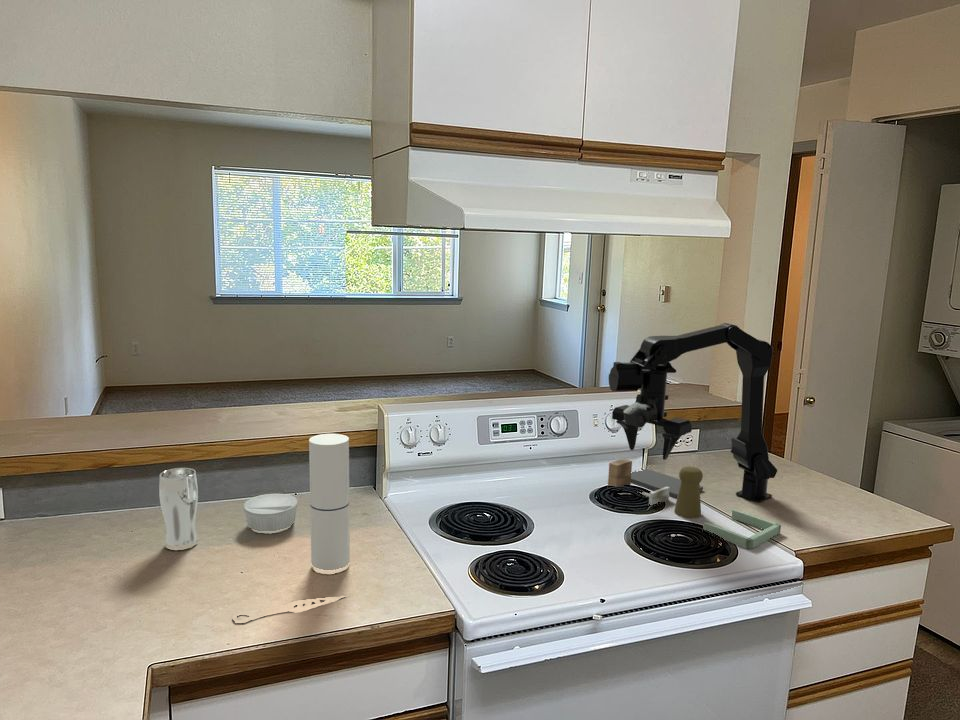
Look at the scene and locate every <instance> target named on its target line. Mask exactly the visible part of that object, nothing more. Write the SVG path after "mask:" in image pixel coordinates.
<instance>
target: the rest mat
mask: <svg viewBox="0 0 960 720" xmlns="http://www.w3.org/2000/svg"><path fill="white" fill-rule="evenodd" d="M631 472H632V473H631V483H632V482H633V483H632V484H635V483H636V484H635V485H637V484H638V486H640V485H642V486H641V487H643V488H646V487H647V488H646V489H649V488H650V490H651V491H656V490H659V489H661V488H664V487H670V489H669V497H673V498H675V499H677V497H678V492H679V488H680V484H681V480H680V478H677V477H674V476H671V475H668V474H664V473H662V472H659V471H656V470H652V469H649V468H647V467H646V469H645V470H643V471H638V472H633V471H631ZM702 490H704V487H703V486H702V485H700V492H702Z"/></svg>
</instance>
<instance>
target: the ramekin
mask: <svg viewBox="0 0 960 720" xmlns="http://www.w3.org/2000/svg"><path fill="white" fill-rule="evenodd" d="M298 507H299V503H298V499H297V497H295V496H293V495H291V494H286V493H265V494H260V495H257V496H255V497H252V498H250V499H248V500H247V501H245V502H244V504H243V507H242V509H243V512H244V514H245V518H246V523H247V527H248V526H249V527H250V528H251V529H254V530H257V531H276V530H280V529H284V528H287V527H289V526H291V525H292V524H293V523H294V524H295V521H296V517H297V509H298ZM294 524H293V525H294ZM293 525H292V526H293ZM249 527H248V528H249ZM250 528H249V529H250ZM251 529H250V530H251Z"/></svg>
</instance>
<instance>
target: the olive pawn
mask: <svg viewBox="0 0 960 720" xmlns="http://www.w3.org/2000/svg"><path fill="white" fill-rule="evenodd" d="M678 476H679V479H680V480H681V484H680V488H679V492H678V497H677V498H676V501H675V502H676V503H675V506H674V509H673V510H674V511H673V512H674V513H675V515H676V516H679V517H682V518H684V519H698V518H700V517H701V516H702V509H701V508H702V506H701V491H700V486H701V485H700V483H701V482H702V480H703V476H704V475H703V471H702V470H701V469H700V468H698V467H695V466H683V467H681V468H680V469H679V473H678Z"/></svg>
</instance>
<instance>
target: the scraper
mask: <svg viewBox="0 0 960 720" xmlns="http://www.w3.org/2000/svg"><path fill="white" fill-rule="evenodd" d="M632 466H633V460H630V459H628V458H620V459H617V460H614V461H611V462H609V463H608V476H607V477H608V478H607V487H608V486H615V487H618V486H624V485H630V486H631V484H632V482H631V472H633V471H632V470H633V467H632ZM669 489H670V487H664V488H661V489H659V490H656V491H655V490H652V491H651V492H649V493H648V492H645V491H643V492H642V493H641V492H639V493H640V494H642V495H644V496H647V497H649V500H648V505H649V504H650V505H653V504H656V503H658V502H662V503H664V502H667V501H669V500H670V499H669V498H670V496H669ZM637 493H638V492H637Z"/></svg>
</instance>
